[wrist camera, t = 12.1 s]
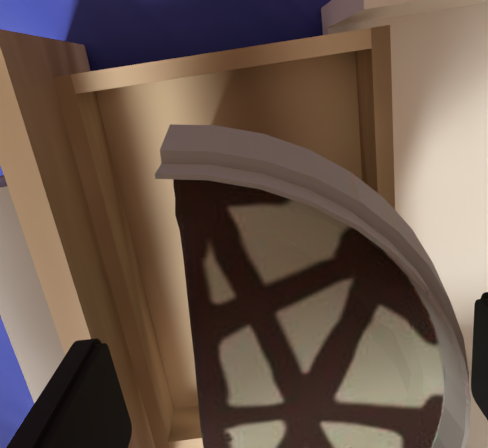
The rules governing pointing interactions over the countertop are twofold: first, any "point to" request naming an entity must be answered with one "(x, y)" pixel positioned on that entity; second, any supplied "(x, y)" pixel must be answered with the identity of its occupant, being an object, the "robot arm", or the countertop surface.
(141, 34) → the countertop surface
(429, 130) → the dock
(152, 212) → the sliding tray
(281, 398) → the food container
